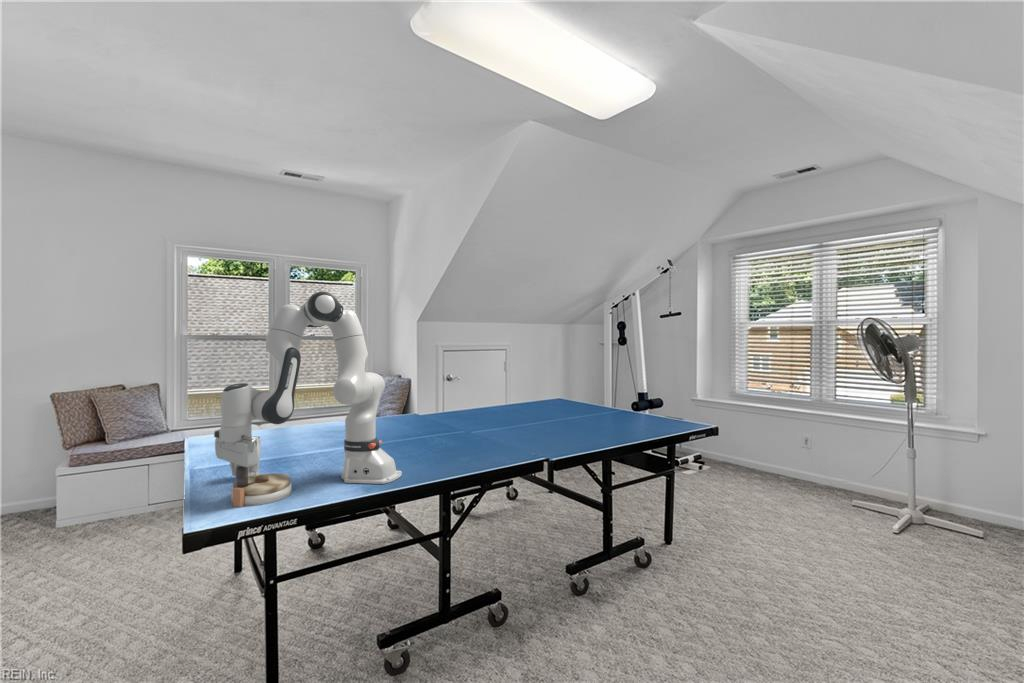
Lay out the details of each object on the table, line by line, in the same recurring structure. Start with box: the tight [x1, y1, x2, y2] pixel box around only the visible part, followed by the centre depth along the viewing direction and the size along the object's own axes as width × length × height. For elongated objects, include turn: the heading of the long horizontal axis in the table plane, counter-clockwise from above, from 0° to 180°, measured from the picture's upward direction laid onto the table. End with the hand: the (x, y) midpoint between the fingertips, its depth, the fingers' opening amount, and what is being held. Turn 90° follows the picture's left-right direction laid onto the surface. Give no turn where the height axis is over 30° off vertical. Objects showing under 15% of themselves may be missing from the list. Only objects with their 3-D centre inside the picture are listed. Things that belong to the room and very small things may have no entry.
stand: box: [230, 481, 292, 508], centre depth 166 cm, size 18×20×6 cm
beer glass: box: [242, 435, 262, 477], centre depth 186 cm, size 7×7×15 cm
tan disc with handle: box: [232, 466, 291, 496], centre depth 167 cm, size 17×17×8 cm
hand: (236, 475), depth 163 cm, fingers closed
